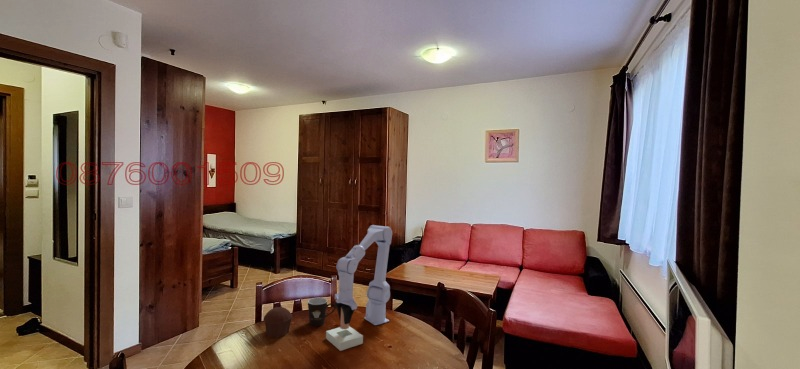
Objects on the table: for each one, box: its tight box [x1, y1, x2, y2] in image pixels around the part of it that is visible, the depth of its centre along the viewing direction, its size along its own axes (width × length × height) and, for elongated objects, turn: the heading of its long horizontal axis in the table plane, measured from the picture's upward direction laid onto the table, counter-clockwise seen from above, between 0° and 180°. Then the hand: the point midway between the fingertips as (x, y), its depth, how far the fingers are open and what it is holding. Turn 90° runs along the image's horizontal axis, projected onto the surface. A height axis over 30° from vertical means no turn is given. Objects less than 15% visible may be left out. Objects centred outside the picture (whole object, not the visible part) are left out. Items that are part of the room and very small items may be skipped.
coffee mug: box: [307, 297, 337, 327], centre depth 145 cm, size 12×9×10 cm
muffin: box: [263, 306, 293, 338], centre depth 135 cm, size 12×11×10 cm
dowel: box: [339, 306, 350, 329], centre depth 130 cm, size 3×3×8 cm
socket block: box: [325, 325, 364, 352], centre depth 130 cm, size 12×10×3 cm
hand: (344, 321), depth 130 cm, fingers closed on dowel, 3 cm apart
